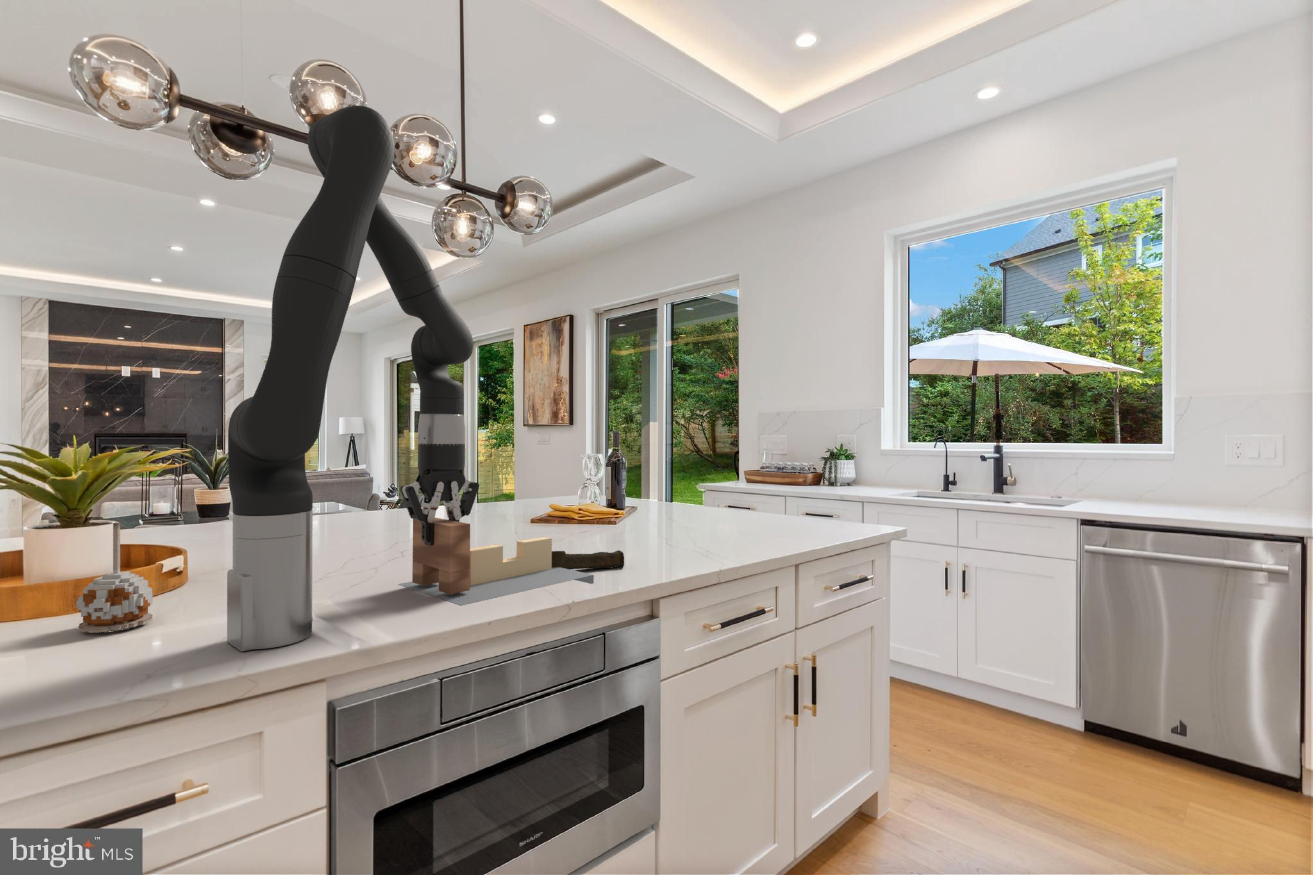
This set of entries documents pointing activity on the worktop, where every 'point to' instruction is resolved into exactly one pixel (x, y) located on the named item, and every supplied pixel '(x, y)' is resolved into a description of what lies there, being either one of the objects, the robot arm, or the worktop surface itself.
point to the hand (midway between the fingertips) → (440, 542)
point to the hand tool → (588, 560)
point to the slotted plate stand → (507, 572)
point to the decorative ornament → (115, 598)
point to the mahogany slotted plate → (443, 556)
